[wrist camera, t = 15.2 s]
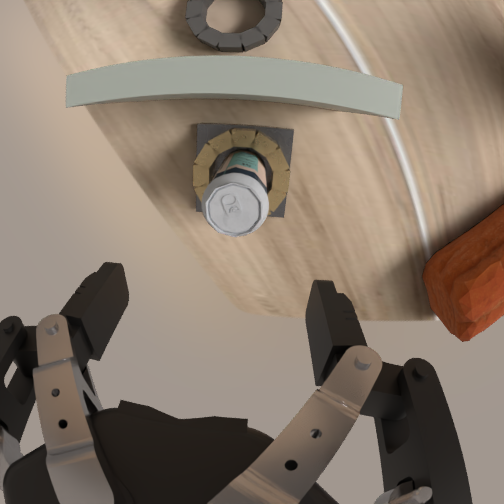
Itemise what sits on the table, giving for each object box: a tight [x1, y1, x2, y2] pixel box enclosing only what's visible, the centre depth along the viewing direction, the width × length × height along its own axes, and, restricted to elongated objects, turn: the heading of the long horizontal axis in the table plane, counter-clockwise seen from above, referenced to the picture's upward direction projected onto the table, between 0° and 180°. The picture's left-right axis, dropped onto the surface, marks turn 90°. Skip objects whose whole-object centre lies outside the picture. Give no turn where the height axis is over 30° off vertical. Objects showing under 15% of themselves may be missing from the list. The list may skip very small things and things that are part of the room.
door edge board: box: [66, 56, 403, 120], centre depth 20 cm, size 2×22×14 cm, turn 86°
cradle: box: [185, 0, 283, 52], centre depth 20 cm, size 9×9×2 cm
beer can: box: [201, 150, 269, 237], centre depth 24 cm, size 5×5×12 cm
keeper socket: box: [193, 123, 294, 218], centre depth 29 cm, size 10×10×4 cm
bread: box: [422, 204, 504, 342], centre depth 30 cm, size 16×27×11 cm, turn 124°
